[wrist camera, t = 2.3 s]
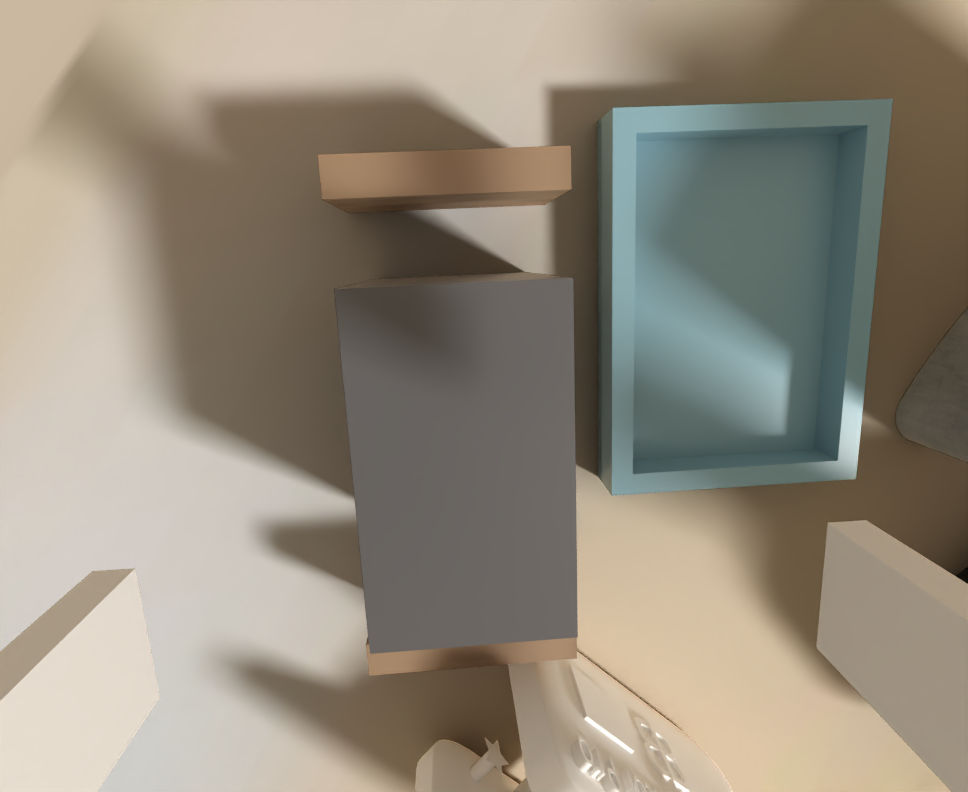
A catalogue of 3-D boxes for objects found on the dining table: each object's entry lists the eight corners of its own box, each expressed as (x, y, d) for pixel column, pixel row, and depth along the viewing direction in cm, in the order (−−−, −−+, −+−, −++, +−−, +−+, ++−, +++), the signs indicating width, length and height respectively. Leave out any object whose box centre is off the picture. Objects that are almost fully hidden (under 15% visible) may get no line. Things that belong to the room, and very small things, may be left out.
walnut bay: (383, 599, 32) (369, 675, 26) (345, 177, 27) (317, 154, 21) (552, 586, 32) (577, 658, 26) (543, 170, 27) (570, 145, 22)
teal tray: (598, 477, 31) (611, 495, 28) (597, 121, 27) (612, 107, 25) (824, 462, 32) (855, 479, 29) (853, 112, 28) (893, 98, 25)
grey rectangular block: (395, 517, 31) (370, 653, 20) (376, 278, 28) (334, 289, 17) (531, 508, 31) (577, 637, 20) (524, 271, 28) (573, 277, 18)
